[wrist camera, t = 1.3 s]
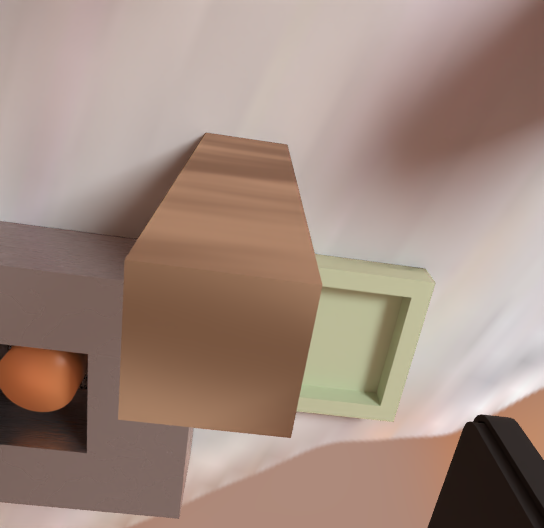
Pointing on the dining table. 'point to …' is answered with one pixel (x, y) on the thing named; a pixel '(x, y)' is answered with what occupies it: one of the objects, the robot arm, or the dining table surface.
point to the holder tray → (363, 337)
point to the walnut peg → (221, 295)
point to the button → (41, 377)
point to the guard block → (86, 402)
